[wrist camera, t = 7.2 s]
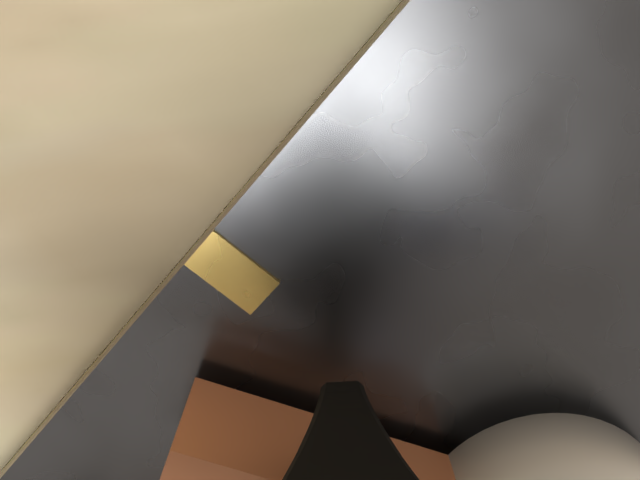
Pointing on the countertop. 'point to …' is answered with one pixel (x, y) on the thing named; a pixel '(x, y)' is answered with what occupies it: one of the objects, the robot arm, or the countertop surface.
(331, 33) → the countertop surface
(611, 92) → the base
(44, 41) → the countertop surface
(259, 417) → the collar
